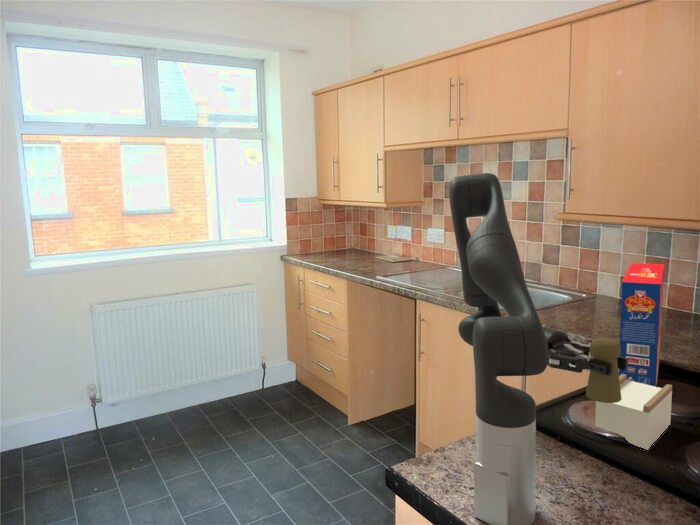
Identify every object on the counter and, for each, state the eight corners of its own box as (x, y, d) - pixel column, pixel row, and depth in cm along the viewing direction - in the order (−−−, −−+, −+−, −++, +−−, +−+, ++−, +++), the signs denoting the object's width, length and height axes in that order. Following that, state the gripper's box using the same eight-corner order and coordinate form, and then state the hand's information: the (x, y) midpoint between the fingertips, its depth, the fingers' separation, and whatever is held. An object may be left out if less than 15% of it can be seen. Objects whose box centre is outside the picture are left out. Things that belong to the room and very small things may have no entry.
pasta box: (655, 397, 123) (660, 284, 119) (618, 391, 127) (621, 281, 123) (659, 360, 146) (664, 264, 142) (628, 356, 150) (631, 263, 146)
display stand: (647, 451, 100) (649, 407, 98) (594, 434, 107) (595, 393, 106) (670, 425, 109) (672, 385, 108) (620, 411, 116) (622, 373, 115)
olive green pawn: (610, 388, 99) (612, 333, 97) (628, 402, 93) (631, 344, 91) (579, 390, 98) (581, 335, 97) (595, 403, 92) (597, 345, 91)
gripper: (516, 333, 102) (597, 356, 88) (561, 320, 110) (642, 339, 95) (516, 369, 103) (595, 397, 89) (560, 353, 111) (640, 377, 96)
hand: (619, 367), depth 92 cm, fingers closed on olive green pawn, 4 cm apart
